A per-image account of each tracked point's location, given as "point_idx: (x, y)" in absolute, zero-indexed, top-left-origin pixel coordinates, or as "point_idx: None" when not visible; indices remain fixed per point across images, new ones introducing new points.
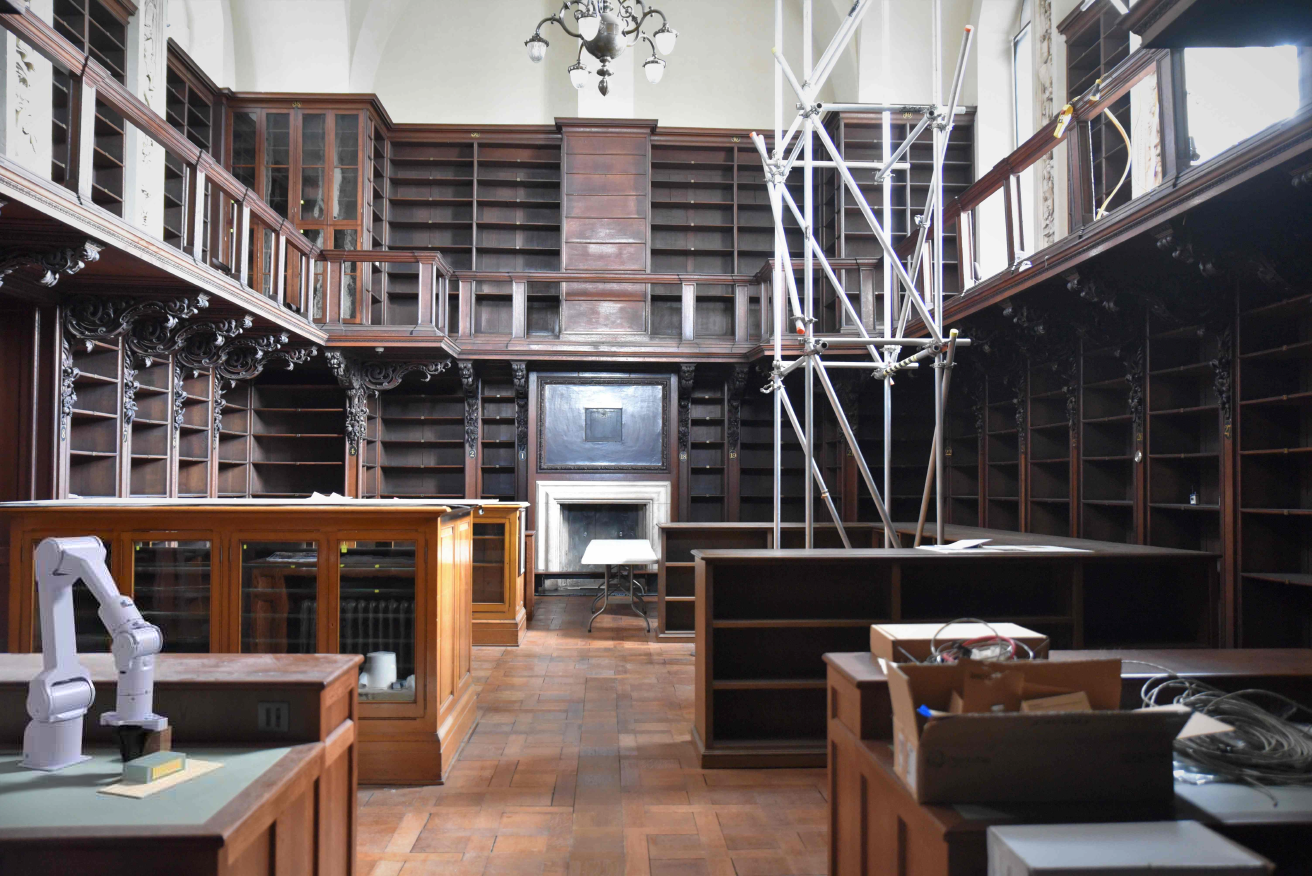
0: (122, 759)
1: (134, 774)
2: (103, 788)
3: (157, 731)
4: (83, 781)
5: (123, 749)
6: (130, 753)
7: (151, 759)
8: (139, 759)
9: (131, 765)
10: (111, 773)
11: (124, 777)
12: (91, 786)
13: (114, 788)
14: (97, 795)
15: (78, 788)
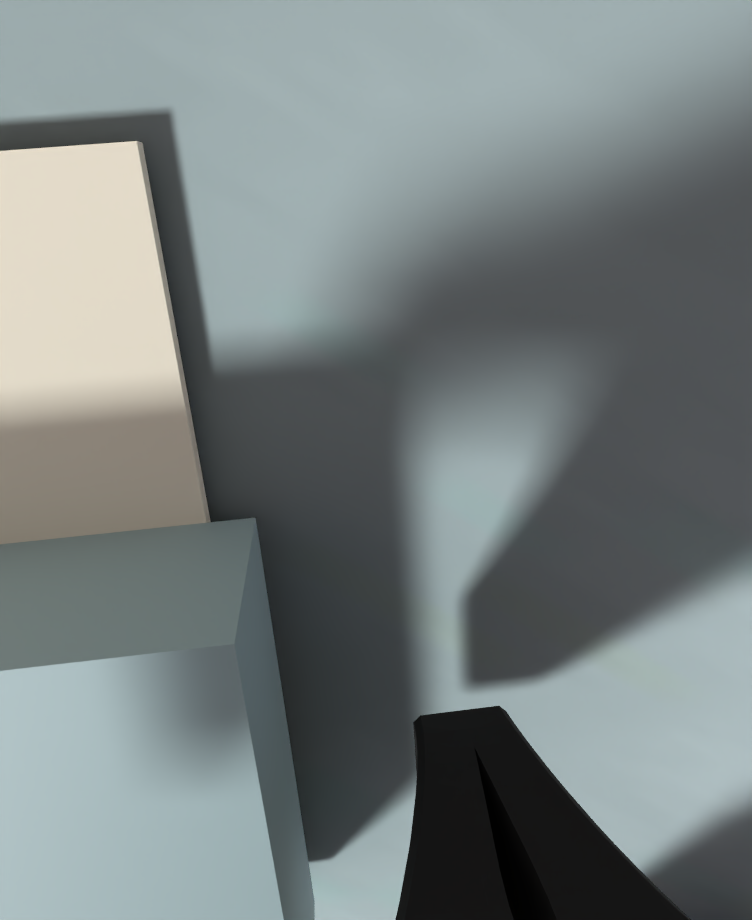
0: (537, 765)
1: (5, 589)
2: (145, 222)
3: None
4: (748, 359)
5: (549, 902)
6: (409, 880)
7: (26, 903)
8: (196, 837)
9: (31, 658)
10: (671, 632)
11: (210, 539)
12: (493, 285)
13: (2, 285)
14: (58, 77)
15: (583, 164)
